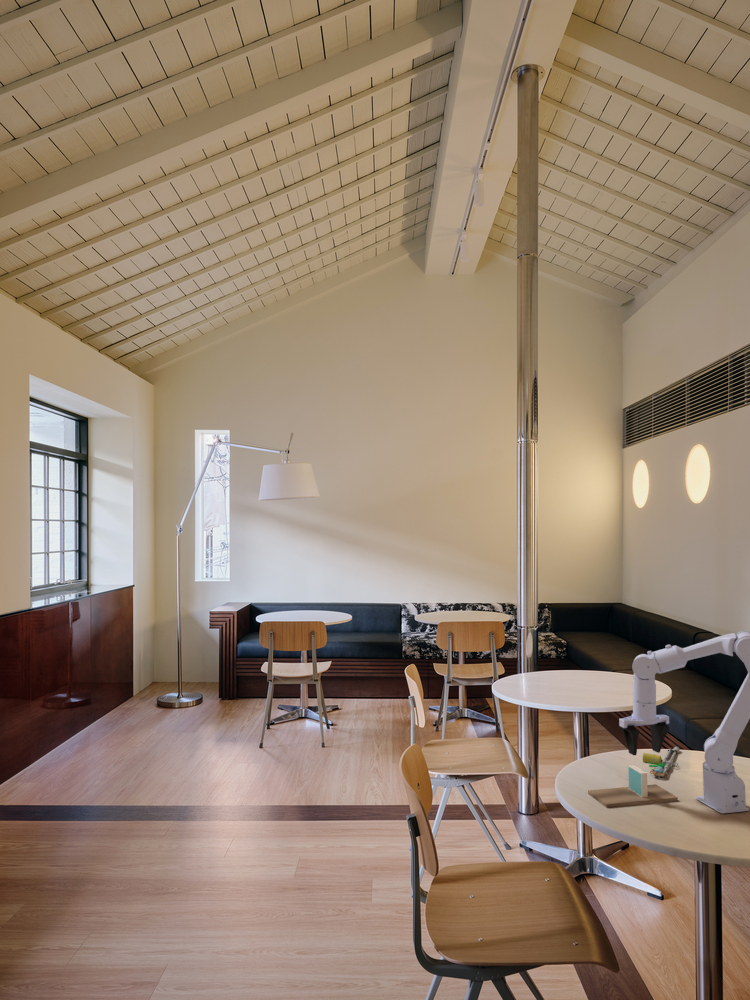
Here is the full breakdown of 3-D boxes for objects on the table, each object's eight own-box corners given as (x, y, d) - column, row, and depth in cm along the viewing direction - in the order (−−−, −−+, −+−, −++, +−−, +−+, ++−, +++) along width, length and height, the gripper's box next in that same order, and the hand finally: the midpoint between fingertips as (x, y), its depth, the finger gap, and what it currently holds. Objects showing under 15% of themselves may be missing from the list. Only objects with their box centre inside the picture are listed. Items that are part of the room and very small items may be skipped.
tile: (647, 796, 169) (647, 772, 169) (641, 797, 168) (641, 773, 168) (634, 787, 174) (633, 764, 175) (628, 788, 174) (627, 765, 174)
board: (677, 800, 168) (677, 797, 168) (606, 807, 164) (606, 804, 164) (656, 787, 177) (656, 784, 177) (588, 793, 173) (588, 790, 173)
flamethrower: (634, 774, 186) (672, 783, 181) (634, 765, 186) (672, 773, 181) (651, 748, 211) (685, 754, 205) (651, 739, 211) (685, 746, 206)
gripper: (656, 695, 180) (656, 745, 180) (611, 698, 176) (611, 750, 175) (675, 701, 174) (675, 754, 173) (629, 705, 169) (629, 759, 169)
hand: (644, 752), depth 174 cm, fingers open, 7 cm apart
